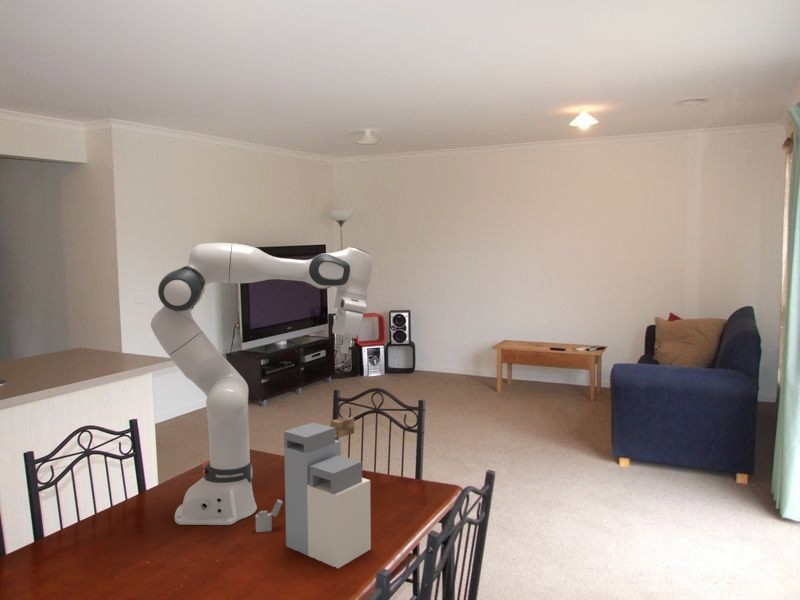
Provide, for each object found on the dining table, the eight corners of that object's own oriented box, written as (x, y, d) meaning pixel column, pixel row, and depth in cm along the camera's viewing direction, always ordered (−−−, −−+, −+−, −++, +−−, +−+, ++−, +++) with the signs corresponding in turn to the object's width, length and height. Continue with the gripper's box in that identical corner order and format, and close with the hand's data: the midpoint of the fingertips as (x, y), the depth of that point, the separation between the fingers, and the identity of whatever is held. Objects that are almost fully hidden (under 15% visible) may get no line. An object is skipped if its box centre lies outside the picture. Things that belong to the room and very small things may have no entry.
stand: (319, 529, 172) (318, 420, 169) (370, 549, 161) (369, 433, 158) (286, 546, 163) (283, 431, 160) (337, 568, 152) (336, 445, 149)
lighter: (256, 532, 170) (255, 503, 170) (255, 529, 172) (255, 501, 171) (283, 529, 172) (282, 500, 171) (282, 526, 174) (281, 498, 173)
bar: (345, 431, 175) (346, 416, 174) (354, 433, 173) (354, 418, 172) (300, 444, 161) (300, 428, 161) (308, 446, 159) (308, 430, 159)
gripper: (332, 301, 193) (323, 347, 192) (346, 302, 173) (336, 352, 173) (352, 305, 195) (344, 350, 194) (368, 307, 175) (358, 356, 175)
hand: (340, 351), depth 183 cm, fingers open, 8 cm apart
